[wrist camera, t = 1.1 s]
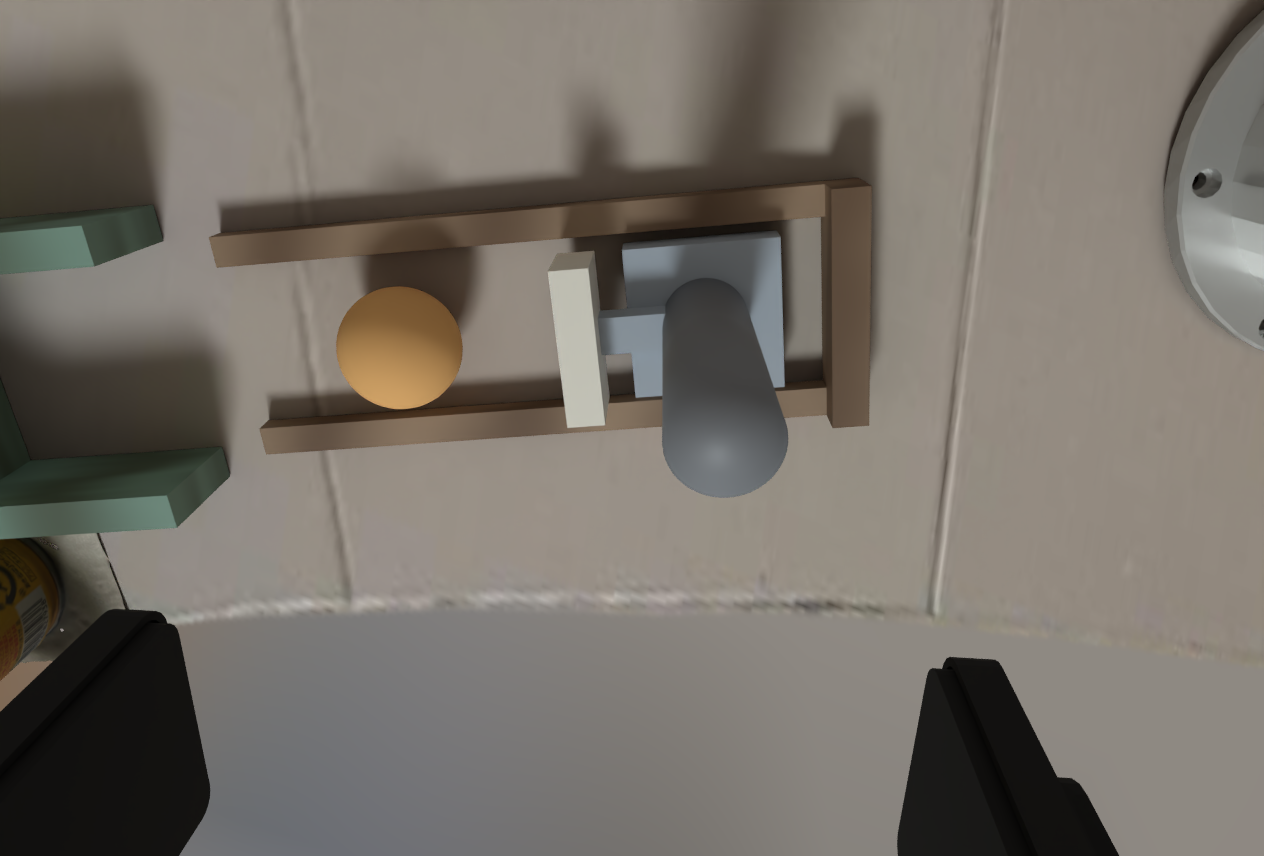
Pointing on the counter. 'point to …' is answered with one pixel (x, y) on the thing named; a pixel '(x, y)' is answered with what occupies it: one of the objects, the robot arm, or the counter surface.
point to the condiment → (51, 595)
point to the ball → (399, 347)
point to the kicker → (685, 350)
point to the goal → (107, 484)
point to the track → (831, 200)
